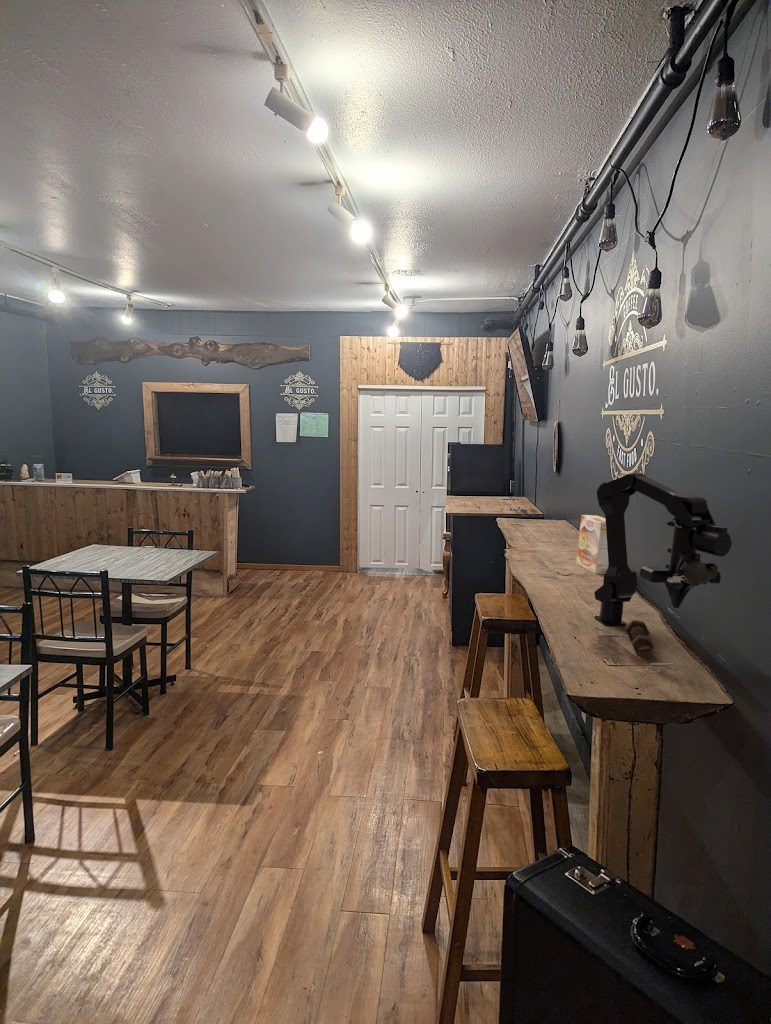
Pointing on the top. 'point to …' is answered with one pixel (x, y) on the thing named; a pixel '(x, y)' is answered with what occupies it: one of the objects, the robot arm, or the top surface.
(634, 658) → the seat and pad
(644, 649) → the bolt
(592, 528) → the coffeecake box
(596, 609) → the top surface
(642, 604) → the top surface
